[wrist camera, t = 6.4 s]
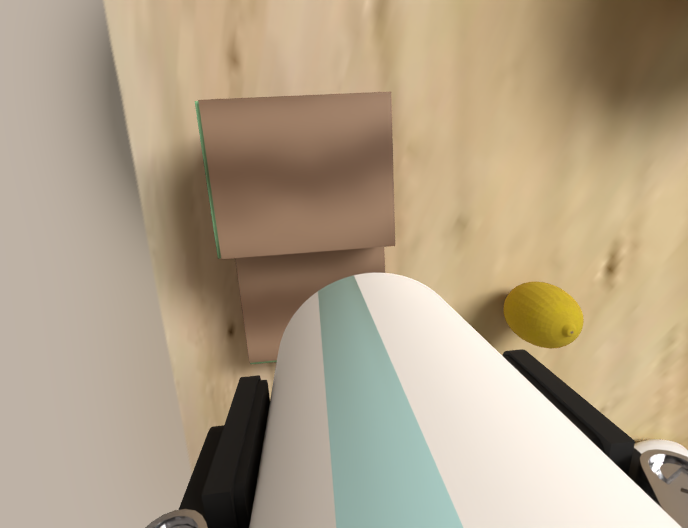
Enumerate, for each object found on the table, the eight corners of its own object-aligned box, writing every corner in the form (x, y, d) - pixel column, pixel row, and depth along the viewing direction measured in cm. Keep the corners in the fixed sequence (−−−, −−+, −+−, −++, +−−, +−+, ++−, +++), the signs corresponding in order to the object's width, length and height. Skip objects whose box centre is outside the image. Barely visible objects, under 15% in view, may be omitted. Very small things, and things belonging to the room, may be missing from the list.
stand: (379, 333, 35) (398, 376, 27) (253, 345, 34) (236, 393, 26) (370, 114, 30) (391, 91, 22) (224, 121, 29) (193, 100, 21)
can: (475, 391, 15) (1061, 1167, 3) (320, 452, 15) (360, 1435, 3) (426, 238, 13) (1434, 823, 1) (248, 309, 13) (-255, 1473, 1)
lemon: (479, 314, 35) (526, 351, 28) (504, 264, 34) (561, 288, 27) (524, 331, 36) (582, 372, 29) (551, 284, 35) (618, 312, 28)
